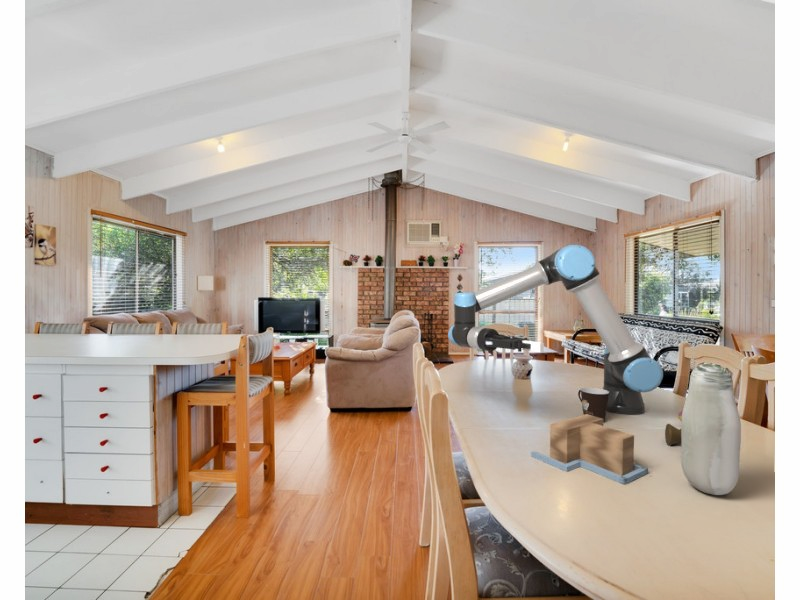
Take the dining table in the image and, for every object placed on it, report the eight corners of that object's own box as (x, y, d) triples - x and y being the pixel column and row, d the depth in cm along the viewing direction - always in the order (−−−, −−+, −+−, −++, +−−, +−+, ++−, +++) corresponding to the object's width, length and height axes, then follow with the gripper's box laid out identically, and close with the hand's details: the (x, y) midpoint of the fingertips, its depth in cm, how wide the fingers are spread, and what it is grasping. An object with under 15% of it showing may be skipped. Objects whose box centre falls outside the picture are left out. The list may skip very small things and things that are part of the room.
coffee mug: (611, 425, 132) (612, 394, 131) (583, 423, 133) (584, 393, 133) (601, 414, 143) (602, 386, 143) (575, 412, 145) (576, 384, 144)
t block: (549, 458, 107) (550, 424, 106) (585, 445, 115) (586, 414, 115) (609, 483, 93) (609, 444, 93) (644, 466, 102) (645, 431, 101)
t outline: (531, 456, 108) (531, 451, 108) (580, 439, 119) (580, 435, 119) (610, 491, 89) (610, 485, 89) (659, 467, 101) (659, 463, 101)
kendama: (675, 464, 104) (661, 436, 122) (722, 472, 100) (699, 442, 119) (677, 442, 104) (662, 416, 122) (723, 449, 100) (701, 422, 118)
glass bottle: (749, 504, 84) (753, 370, 83) (695, 500, 86) (698, 368, 85) (720, 481, 94) (723, 361, 93) (671, 478, 95) (674, 360, 94)
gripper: (497, 348, 141) (556, 358, 121) (469, 351, 134) (526, 362, 114) (497, 326, 140) (556, 333, 120) (469, 329, 133) (526, 336, 113)
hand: (541, 347), depth 117 cm, fingers closed
